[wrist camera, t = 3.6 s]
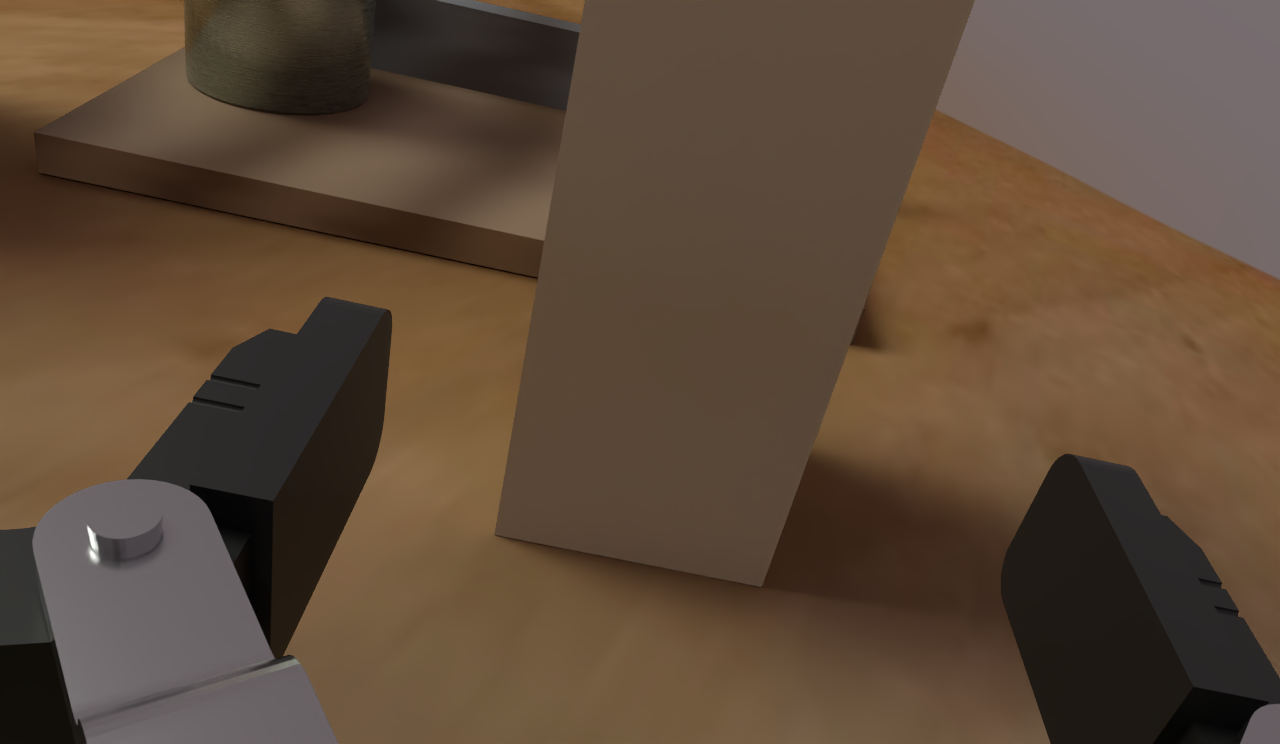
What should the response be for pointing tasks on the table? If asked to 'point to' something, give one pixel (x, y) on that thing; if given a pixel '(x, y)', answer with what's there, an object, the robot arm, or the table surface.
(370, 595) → the table surface
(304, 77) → the oat tin
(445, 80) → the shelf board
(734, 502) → the kraft carton
